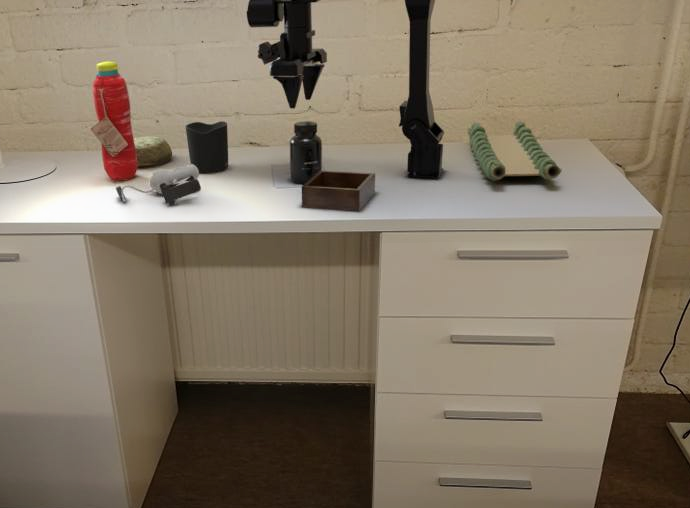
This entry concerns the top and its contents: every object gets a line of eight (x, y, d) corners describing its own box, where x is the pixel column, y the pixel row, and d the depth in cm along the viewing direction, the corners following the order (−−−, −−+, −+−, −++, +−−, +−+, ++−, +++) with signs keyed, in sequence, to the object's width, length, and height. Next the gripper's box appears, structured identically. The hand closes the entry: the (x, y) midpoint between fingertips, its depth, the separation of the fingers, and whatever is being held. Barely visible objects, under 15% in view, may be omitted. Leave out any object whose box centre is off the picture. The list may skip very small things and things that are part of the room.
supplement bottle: (310, 186, 164) (309, 128, 158) (284, 181, 168) (282, 125, 162) (328, 177, 169) (327, 121, 163) (302, 173, 173) (300, 118, 167)
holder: (374, 193, 157) (375, 173, 155) (359, 211, 148) (359, 190, 146) (320, 189, 162) (320, 170, 160) (301, 207, 152) (301, 186, 150)
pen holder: (206, 177, 175) (202, 131, 170) (181, 169, 181) (177, 126, 176) (238, 167, 180) (235, 123, 175) (213, 161, 186) (209, 118, 181)
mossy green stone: (105, 165, 188) (102, 144, 186) (142, 152, 198) (139, 132, 195) (148, 171, 181) (145, 150, 179) (183, 157, 191) (181, 136, 188)
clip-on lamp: (120, 223, 159) (203, 198, 157) (108, 195, 155) (194, 169, 154) (123, 200, 169) (202, 176, 167) (113, 173, 165) (193, 149, 163)
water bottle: (125, 187, 171) (108, 67, 159) (92, 186, 173) (73, 68, 161) (146, 172, 181) (132, 58, 169) (115, 171, 183) (99, 59, 171)
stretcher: (561, 190, 152) (565, 165, 150) (486, 191, 154) (488, 167, 152) (526, 140, 187) (529, 119, 185) (465, 141, 189) (467, 120, 187)
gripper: (279, 21, 172) (282, 94, 179) (244, 32, 157) (249, 112, 165) (327, 20, 168) (328, 95, 175) (295, 32, 153) (297, 113, 161)
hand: (300, 103), depth 169 cm, fingers open, 9 cm apart
